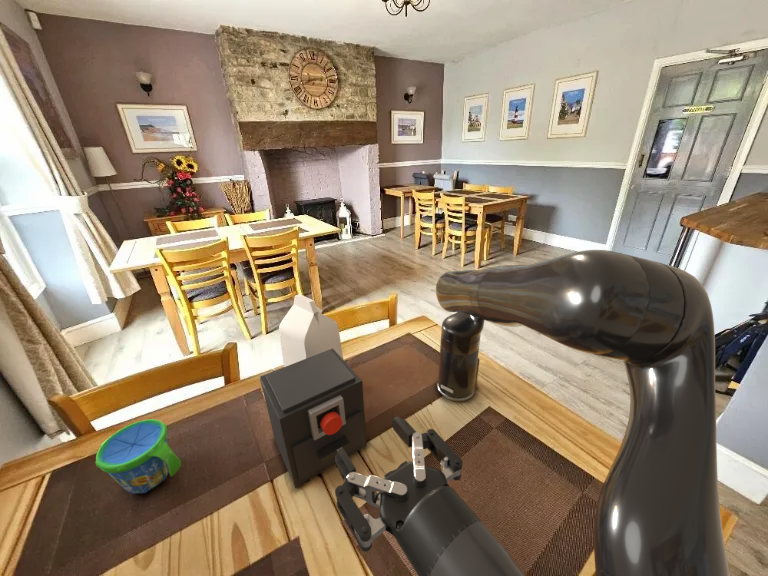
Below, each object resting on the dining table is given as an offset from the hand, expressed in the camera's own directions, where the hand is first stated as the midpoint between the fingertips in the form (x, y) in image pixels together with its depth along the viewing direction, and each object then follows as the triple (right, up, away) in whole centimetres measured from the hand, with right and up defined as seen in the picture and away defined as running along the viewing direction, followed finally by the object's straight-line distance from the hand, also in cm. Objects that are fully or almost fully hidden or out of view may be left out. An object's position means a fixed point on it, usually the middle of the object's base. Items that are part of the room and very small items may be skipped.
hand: (368, 436), depth 41 cm
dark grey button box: (-11, -15, +26) cm, 32 cm away
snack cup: (-45, -18, +21) cm, 53 cm away
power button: (-7, -6, +15) cm, 18 cm away
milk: (-17, -7, +45) cm, 48 cm away
